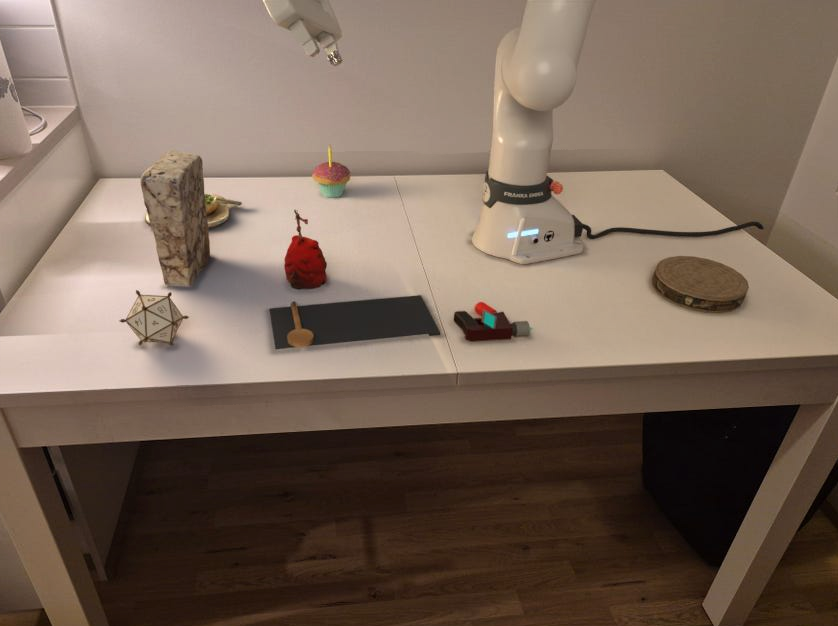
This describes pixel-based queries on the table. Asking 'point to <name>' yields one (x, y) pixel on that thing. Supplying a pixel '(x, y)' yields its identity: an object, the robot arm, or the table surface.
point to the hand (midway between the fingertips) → (326, 59)
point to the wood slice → (700, 284)
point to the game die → (154, 318)
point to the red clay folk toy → (304, 261)
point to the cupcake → (331, 177)
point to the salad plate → (214, 209)
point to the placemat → (356, 320)
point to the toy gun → (489, 325)
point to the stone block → (178, 216)
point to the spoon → (299, 331)
